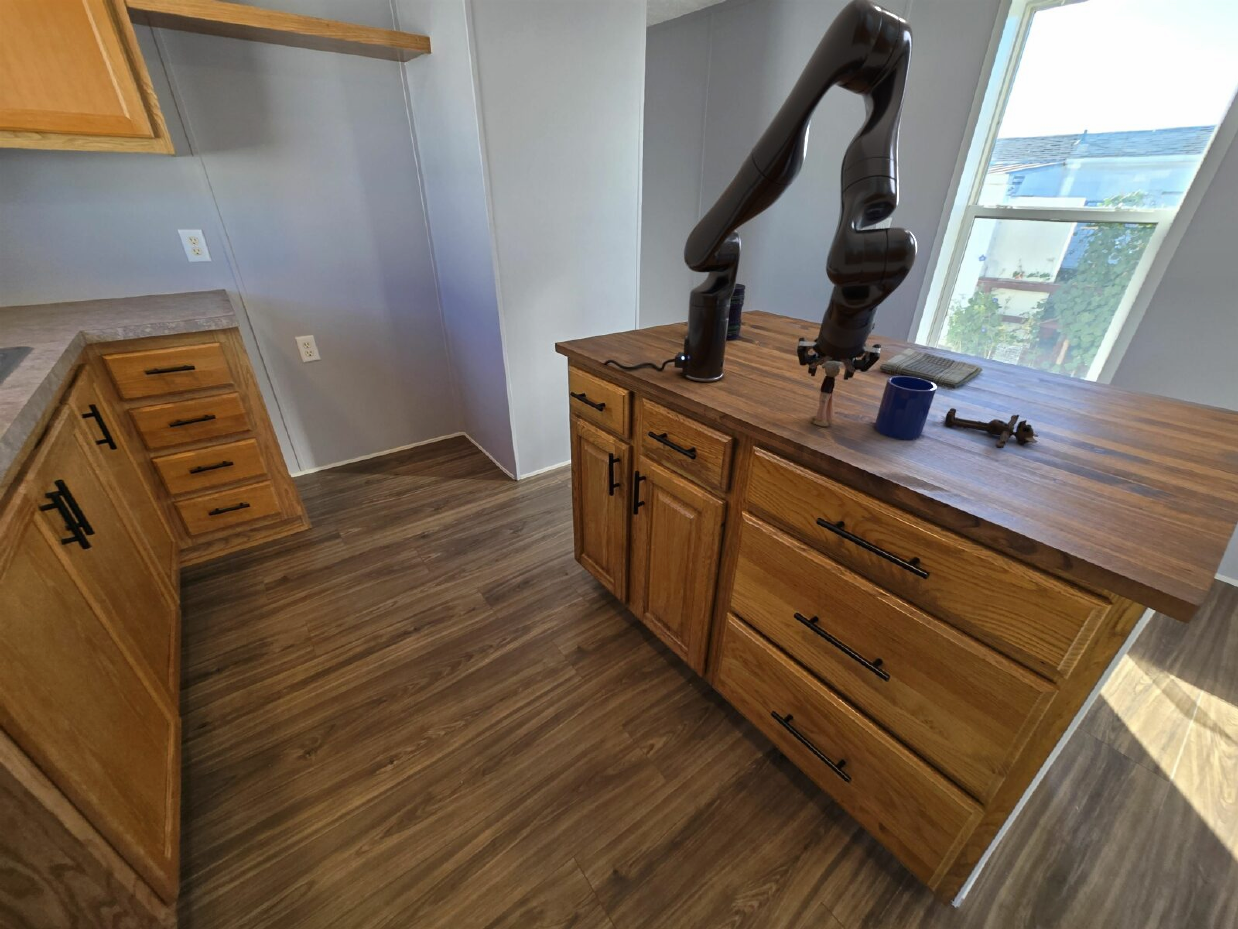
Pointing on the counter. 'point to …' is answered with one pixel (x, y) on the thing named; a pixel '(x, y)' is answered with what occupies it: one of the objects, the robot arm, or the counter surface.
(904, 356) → the dish towel
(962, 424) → the brown horned figurine
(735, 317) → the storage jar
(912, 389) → the blue cup
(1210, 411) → the counter surface
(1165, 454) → the counter surface
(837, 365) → the grandmother figurine
